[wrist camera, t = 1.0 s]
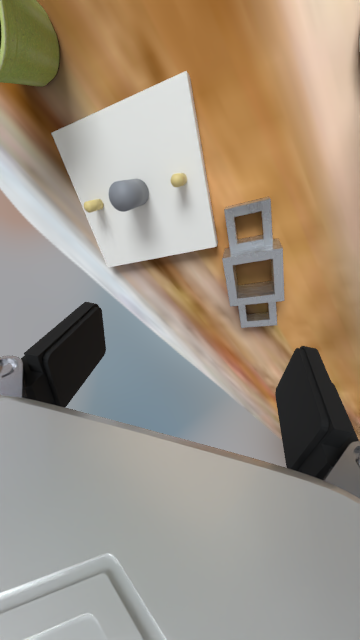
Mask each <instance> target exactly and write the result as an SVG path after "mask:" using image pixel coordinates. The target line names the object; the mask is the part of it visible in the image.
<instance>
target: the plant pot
mask: <svg viewBox="0 0 360 640" xmlns="http://www.w3.org/2000/svg"><path fill="white" fill-rule="evenodd" d="M58 66H59V45H58V40H57V36H56V33H55V31H54V29H53V27H52V24H51V22H50V20H49V18H48V15H47V13H46V12H45V10H44V9H43V8H42V6H41V5H40V4H39V3H38V2H37V1H36V0H0V82H4V83H14V84H23V85H30V86H45V85H46V84H48V83H49V82H50V81H51V80H52V79H53V78H54V77H55V76H56V73H57V70H58Z"/></svg>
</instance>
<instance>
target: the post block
mask: <svg viewBox="0 0 360 640" xmlns="http://www.w3.org/2000/svg"><path fill="white" fill-rule="evenodd" d="M51 134H52V136H53V138H54V141H55V143H56V145H57V148H58V150H59V153H60V155H61V157H62V160H63V162H64V165H65V167H66V169H67V172H68V174H69V176H70V179H71V181H72V184H73V186H74V188H75V191H76V193H77V195H78V198H79V200H80V203H81V205H82V207H83V210H84V212H85V214H86V217H87V219H88V222H89V224H90V226H91V229H92V231H93V233H94V236H95V238H96V241H97V243H98V245H99V248H100V250H101V252H102V255H103V257H104V260H105V262H106V264H107V267H113V266H119V265H124V264H129V263H134V262H140V261H145V260H150V259H155V258H160V257H166V256H171V255H176V254H181V253H187V252H192V251H197V250H202V249H207V248H213V247H217V244H218V242H217V236H216V230H215V224H214V218H213V212H212V206H211V200H210V194H209V188H208V182H207V176H206V170H205V164H204V158H203V153H202V147H201V141H200V135H199V129H198V123H197V117H196V111H195V105H194V99H193V93H192V87H191V81H190V76H189V74H188V73H187V71H185V72H183V73H181V74H178V75H176V76H174V77H172V78H170V79H168V80H165V81H163V82H161V83H159V84H157V85H155V86H152V87H150V88H148V89H146V90H144V91H141V92H139V93H137V94H135V95H133V96H131V97H128V98H126V99H124V100H122V101H120V102H118V103H115V104H113V105H111V106H109V107H107V108H104V109H102V110H100V111H98V112H96V113H94V114H91V115H89V116H87V117H85V118H83V119H80V120H78V121H76V122H74V123H72V124H70V125H67V126H65V127H63V128H61V129H59V130H57V131H54V132H52V133H51Z"/></svg>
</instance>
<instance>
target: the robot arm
mask: <svg viewBox="0 0 360 640" xmlns="http://www.w3.org/2000/svg"><path fill="white" fill-rule="evenodd" d="M359 50H360V37H359ZM105 351H106V347H105V337H104V328H103V318H102V310H101V308H99V306H98V305H97V304H94V303H89V302H85V303H83V304H82V305H81V306H80V307H79V308H77V309H76V310H75V311H74V312H72V313H71V314H70V315H69V316H68V317H67V318H66V319H64V320H63V321H62V322H61V323H59V324H58V325H57V326H56V327H55V328H53V329H52V330H51V331H50V332H49V333H47V335H45V336H44V337H43V338H42V339H40V340H39V341H38V342H37V343H36V344H35V345H33V346H32V347H31V348H30V349H28V350H27V351H26V352H25V353H24V354H25V356H24V357H23V358H21V359H20V358H19V357H16V356H2V357H0V640H360V441H359V440H358V438H357V436H356V433H355V431H354V429H353V426H352V424H351V422H350V420H349V417H348V415H347V413H346V410H345V408H344V406H343V404H342V401H341V399H340V397H339V394H338V392H337V390H336V388H335V386H334V384H333V383H332V382H331V380H330V378H329V376H328V373H327V371H326V369H325V366H324V364H323V362H322V359H321V357H320V355H319V352H318V350H317V349H315V348H310V347H305V346H302V347H300V349H299V348H296V350H295V351H294V353H293V355H292V357H291V359H290V362H289V364H288V366H287V368H286V370H285V372H284V374H283V376H282V378H281V380H280V382H279V384H278V386H277V388H276V402H277V408H278V415H279V421H280V427H281V434H282V440H283V447H284V453H285V459H286V465H287V468H285V467H281V466H277V465H274V464H270V463H267V462H264V461H261V460H257V459H254V458H250V457H246V456H243V455H239V454H235V453H232V452H228V451H225V450H221V449H218V448H214V447H210V446H207V445H203V444H199V443H196V442H191V441H188V440H185V439H181V438H177V437H173V436H170V435H166V434H163V433H158V432H155V431H151V430H148V429H144V428H140V427H136V426H133V425H129V424H125V423H121V422H118V421H114V420H110V419H106V418H103V417H99V416H95V415H91V414H87V413H83V412H79V411H76V410H72V409H68V408H65V407H66V406H67V405H68V403H69V402H70V400H71V399H72V398H73V396H74V395H75V394H76V392H77V391H78V390H79V388H80V387H81V386H82V384H83V383H84V382H85V380H86V379H87V377H88V376H89V375H90V374H91V372H92V371H93V369H94V368H95V367H96V365H97V364H98V363H99V361H100V360H101V359H102V357H103V356H104V354H105Z"/></svg>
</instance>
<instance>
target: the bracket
mask: <svg viewBox="0 0 360 640" xmlns="http://www.w3.org/2000/svg"><path fill="white" fill-rule="evenodd" d="M224 211H225V218H226V225H227V232H228V239H229V246H230V248H225V250H224V254H223V258H222V259H223V265H224V271H225V277H226V283H227V289H228V296H229V302H230V306H238V308H239V315H240V322H241V328H244V327H258V326H271V325H277V314H276V302H277V301H284V277H283V248H282V246H281V243H280V241H279V239H272V220H271V201H270V197H265V198H260V199H256V200H252V201H248V202H244V203H240V204H236V205H232V206H228V207H225V209H224ZM259 211H261V214H262V228H263V235H258V236H253V237H248V238H243V239H238V238H237V230H236V222H235V217H237V216H242V215H246V214H250V213H255V212H259ZM268 259H271V273H272V281H267V282H259V283H252V284H244V285H238V281H237V273H236V266H235V265H237V264H244V263H250V262H256V261H262V260H268ZM258 303H268V311H269V312H264V313H253V314H247V310H246V305H249V304H258Z"/></svg>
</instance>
